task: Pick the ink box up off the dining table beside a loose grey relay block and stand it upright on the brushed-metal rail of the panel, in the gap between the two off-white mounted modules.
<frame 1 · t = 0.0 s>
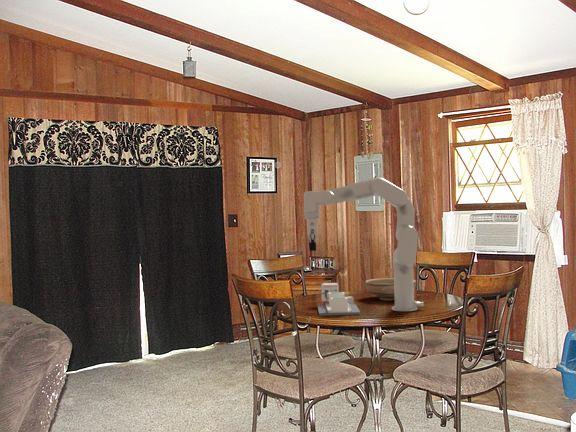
hand: (312, 250, 320), 31 cm above the table, fingers open, 9 cm apart
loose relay: (348, 304, 343), on the table
rail panel: (338, 310, 322), on the table
ceramic bowl: (390, 298, 359), on the table
ink box: (330, 306, 340), on the table
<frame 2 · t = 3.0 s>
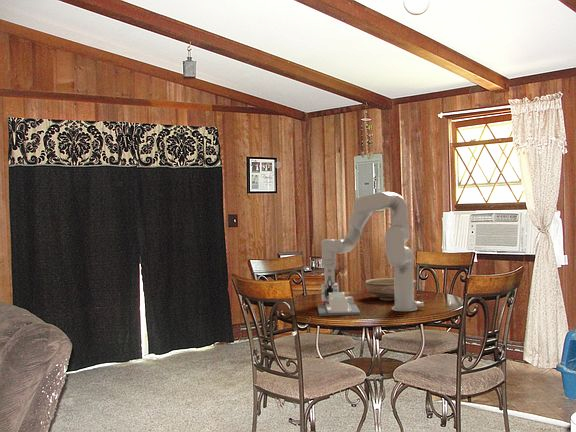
hand: (329, 294, 340), 6 cm above the table, fingers open, 9 cm apart
nothing on the table moved.
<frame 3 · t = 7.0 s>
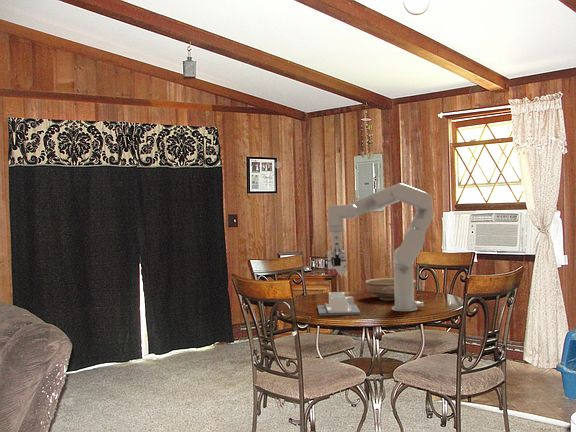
hand: (337, 264, 322), 23 cm above the table, fingers closed on ink box, 5 cm apart
ink box: (337, 274, 322), point 18 cm above the table, touching gripper
everything else where it was.
when the fingers open (7 cm above the table, at t = 10.4 s): ink box stays where it is, resting on rail panel.
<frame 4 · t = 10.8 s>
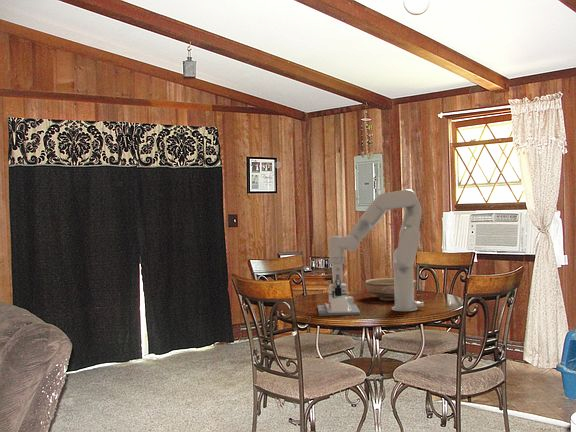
hand: (337, 294, 322), 8 cm above the table, fingers open, 9 cm apart
ink box: (338, 307, 322), point 2 cm above the table, touching rail panel
everything else where it was.
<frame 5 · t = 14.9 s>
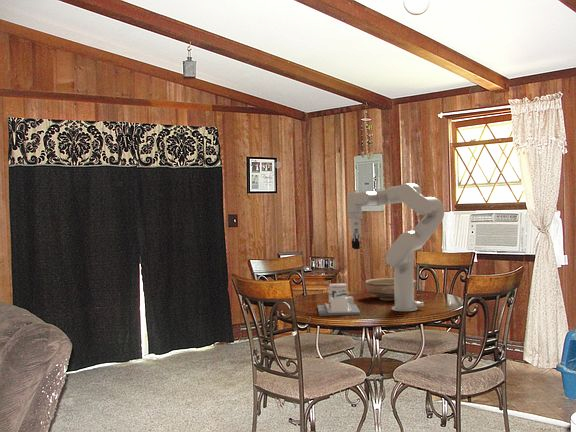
hand: (355, 248, 335), 30 cm above the table, fingers open, 9 cm apart
nothing on the table moved.
at the end: ink box 0.2 cm off-centre on the rail panel, point 1.6 cm above the rail panel's base; ink box tilted 0°; the gripper is holding nothing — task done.
